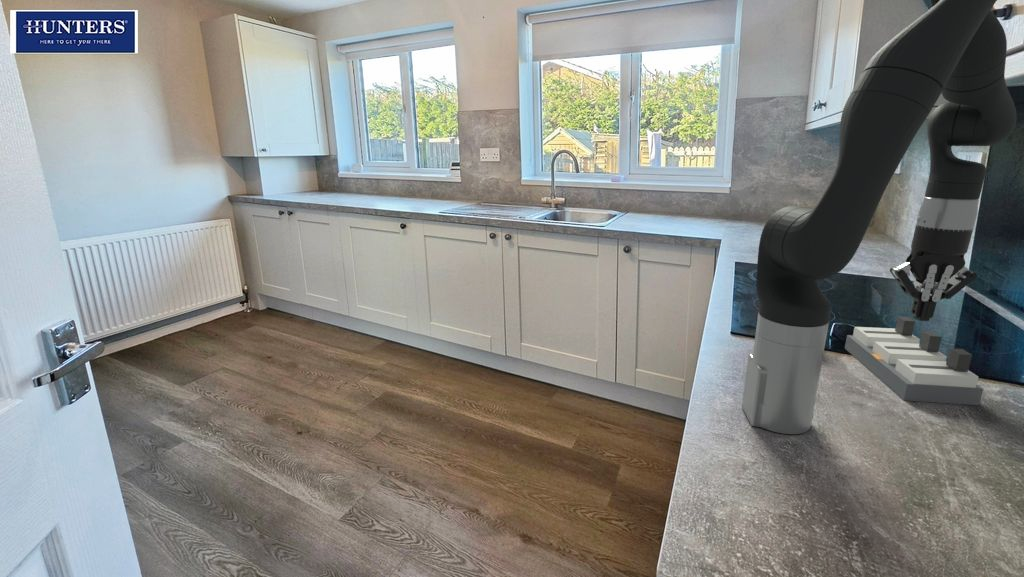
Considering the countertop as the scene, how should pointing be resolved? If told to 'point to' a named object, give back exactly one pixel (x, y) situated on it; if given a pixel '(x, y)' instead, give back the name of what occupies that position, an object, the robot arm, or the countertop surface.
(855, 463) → the countertop surface
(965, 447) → the countertop surface
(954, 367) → the block
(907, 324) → the block
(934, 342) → the block
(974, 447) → the countertop surface
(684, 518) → the countertop surface
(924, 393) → the box
